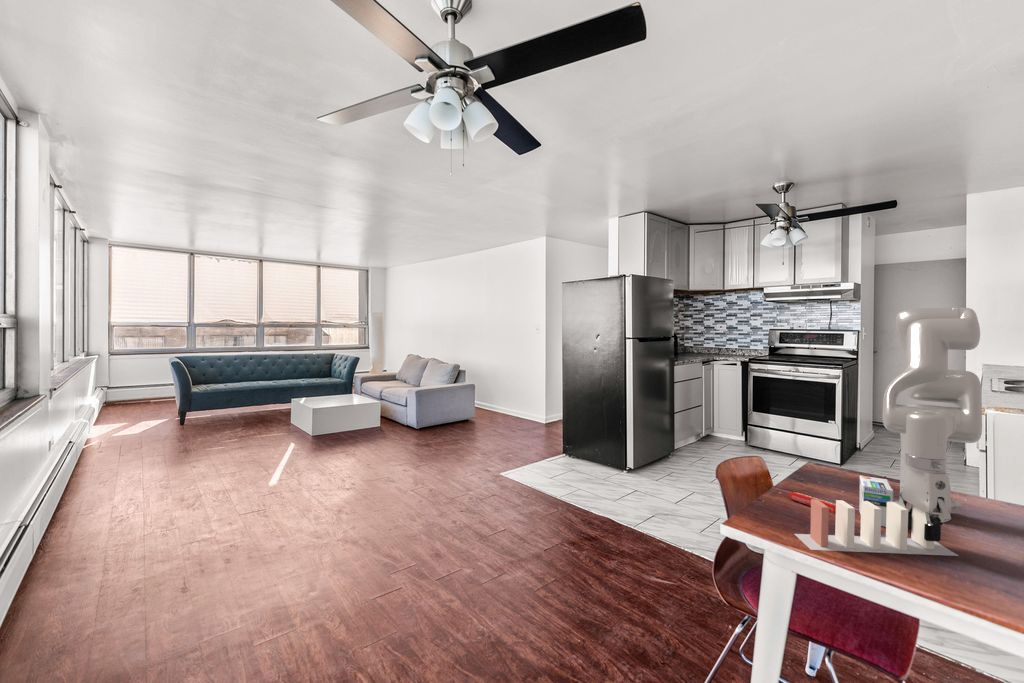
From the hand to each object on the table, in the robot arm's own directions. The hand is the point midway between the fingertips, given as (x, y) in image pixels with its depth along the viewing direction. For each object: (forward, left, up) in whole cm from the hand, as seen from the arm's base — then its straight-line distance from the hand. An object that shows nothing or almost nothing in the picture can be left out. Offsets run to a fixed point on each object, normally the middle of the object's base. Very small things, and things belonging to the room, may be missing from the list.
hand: (922, 534), depth 114 cm
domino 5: (0, 0, -2) cm, 2 cm away
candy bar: (+13, -24, -4) cm, 28 cm away
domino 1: (+24, 0, -3) cm, 24 cm away
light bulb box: (+1, -16, -4) cm, 16 cm away
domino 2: (+18, 0, -3) cm, 18 cm away
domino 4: (+6, 0, -3) cm, 7 cm away
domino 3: (+12, 0, -3) cm, 12 cm away
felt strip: (+12, 0, -3) cm, 12 cm away
